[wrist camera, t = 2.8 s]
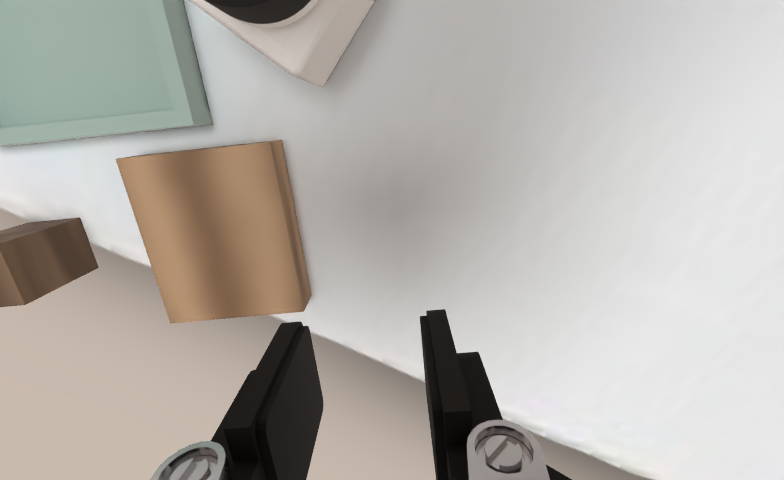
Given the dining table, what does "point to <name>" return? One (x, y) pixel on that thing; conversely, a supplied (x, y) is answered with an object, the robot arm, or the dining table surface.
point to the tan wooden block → (219, 230)
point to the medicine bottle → (293, 30)
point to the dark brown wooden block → (42, 259)
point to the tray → (96, 69)
